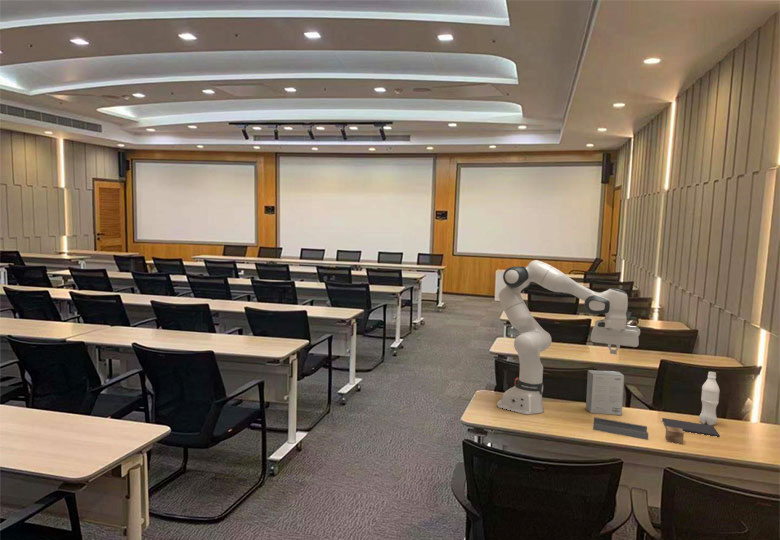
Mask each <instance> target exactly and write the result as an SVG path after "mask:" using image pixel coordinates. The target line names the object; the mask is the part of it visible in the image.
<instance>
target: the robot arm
mask: <svg viewBox="0 0 780 540" xmlns="http://www.w3.org/2000/svg"><path fill="white" fill-rule="evenodd" d="M502 279H503V282H504V283H505V285H506V286H505V287H504V288H502V289H500V291H499V293H498V299H499V302H500V305H501V307H502V309H503V312H504V314H505V315H506V318H507V319H508V321H509V323H510V325H511V326H512V328H513V329H515V330H516V331H518V333H519V335H517V336H516V337H515V339H514V341H513V342H514V343H513V346H514V350H515V351H516V352H517V354H518V359H519V360H518V361H519V376H518V377H516V378H515V379H514V386H512V387H510V388H508V389H507V390H505V391H504V393H503V394H502V396H501V398H500V399H499V400H498V401H497V403H496V407H497V406H498V407H497V408H498V409H502V408H503V409H502V410H506V409H507V410H506V411H510V410H511V411H510V412H514V411H515V412H514V413H519V414H521V415H532V414H534V415H535V414H541V413H544V412H545V410H544V405H543V393H544V382H543V379H544V378H543V375H544V374H543V373H544V366H543V364H542V362H541V356H540V354H541V353H542V352H545V351H546V350H547V349H548V348H549V347H550V346H551V344H552V336H551V334H550V333H549V332H548V331H546V330H545V329H544V328H543V327H542V326H541V325H540V324H539V323H538V321H537V320H536V319H535V318H534V316H533V315H532V313H531V312H530V310H529V308H528V306H527V305H526V303H525V300H524V299H523V296H522V294H523V292H525V290H526V289H528V288H529V286H530V285H531V283H535V284H538V285H539V286H541V287H542V288H544V289H547V290H549V291H551V292H554V293H564V294H569V295H572V296H574V297H576V298H577V299H579V300H582V301H584V304H583V306H584V309H585V311H586V312H587V313H588V314H590V315H594V316H600V315H605V318H604V319H598V320H595V321H594V326H593V328H592V330H591V334H590V341H591V342H592V343H597V344H598V343H599V344H606V345H607V347H608V349H609V354H610V355H615V356H616V355H617V354H618V351H619V349H620V348H621V346H623V347H632V348H637V347H638V346H640V345H639V336H640V335H641V329H640V328H639V327H637V326H636V325H629V324H628V325H627V312H628V306H629V305H628V304H629V300H628V298H629V297H628V294H627V292H626V291H625V290H622V289H620V288H619V289H618V288H613V287H611V288H608V289H607V290H605V291H600V292H599V291H595V290H592V289H590V288H588V287H587V286H585V285H582V284H581V283H579V282H577V281H575V280H574V279H572V278H571V277H569V276H568V275H567V274H565V273H564V272H562V271H561V270H559V269H558V268H556V267H554V266H552V265H550V264H549V263H546V262H544V261H540V260H539V259H538V260H537V259H535V260H531V261H530V262H529V263H528V264H527V265H526V267H525V266H509V267H507V268H506V269H505V270H504V272H503V274H502ZM612 345H615V346H616V348H615V349H612Z"/></svg>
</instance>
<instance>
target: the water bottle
mask: <svg viewBox="0 0 780 540" xmlns="http://www.w3.org/2000/svg"><path fill="white" fill-rule="evenodd" d="M706 378H707V379H706V381H705V382H704V383H703V384H702V386H701V398H700V400H701V411H700V412H701V413H700V414H699V421H700V424H705V425H706V423H707V425H711V426H715V425H716V424H717V422H718V418H717V407H718V405H719V402H720V401H719V400H720V399H719V398H720V387H719V385H718V382H717V380H716V379H717V373H716V371H708V373H707V377H706Z"/></svg>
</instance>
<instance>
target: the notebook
mask: <svg viewBox="0 0 780 540" xmlns="http://www.w3.org/2000/svg"><path fill="white" fill-rule="evenodd" d="M661 422H662V423H663V425H664V427H665V428H666V426H669V427H675V428H681V429H682V430H683V431H685V432H684V433H689V432H691V433H690V434H695V433H697V435H701V434H704V435H703V436H707V435H710V436H709V437H713V436H717V437H716V438H719V437H720V434H719V432H718V431H717V430H716V428H715V425H708V424H706V423H705V424H703V423H699V422H697V423H696V422H692V421H686V420H685V421H684V420H679V419H673V418H672V419H671V418H665V417H662V420H661Z"/></svg>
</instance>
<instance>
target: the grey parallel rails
mask: <svg viewBox="0 0 780 540" xmlns="http://www.w3.org/2000/svg"><path fill="white" fill-rule="evenodd" d="M592 430H593V431H599V432H604V433H610V434H616V435H620V436H626V437H631V438H637V439H642V440H648V441H649V432H648V427H647V426H646V425H640V424H635V423H629V422H623V421H618V420H612V419H607V418H601V417H595V416H594V417H593V425H592Z"/></svg>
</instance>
